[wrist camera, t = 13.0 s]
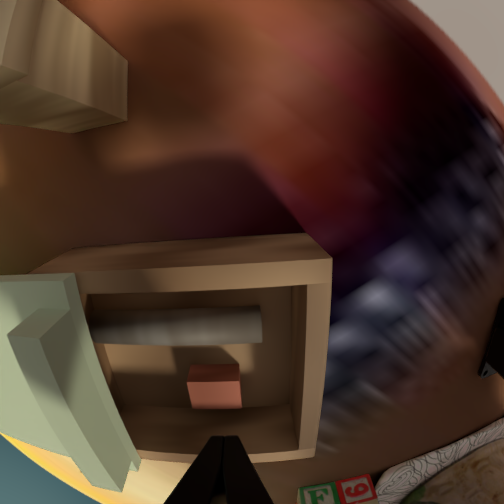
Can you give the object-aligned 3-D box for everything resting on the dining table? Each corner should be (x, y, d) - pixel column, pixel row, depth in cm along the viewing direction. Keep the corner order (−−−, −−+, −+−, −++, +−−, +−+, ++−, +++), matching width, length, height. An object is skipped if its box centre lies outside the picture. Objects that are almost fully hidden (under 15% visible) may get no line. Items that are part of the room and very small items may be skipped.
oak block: (136, 59, 11) (30, -37, 2) (135, 119, 12) (1, 65, 3) (67, 79, 11) (-59, 30, 2) (65, 135, 11) (-79, 123, 3)
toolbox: (306, 232, 13) (332, 258, 9) (301, 405, 16) (314, 456, 12) (1, 254, 13) (-44, 275, 9) (49, 394, 15) (23, 430, 11)
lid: (74, 272, 9) (28, 305, 6) (141, 460, 12) (129, 502, 9) (-65, 276, 9) (-98, 294, 6) (-3, 421, 11) (-22, 446, 9)
